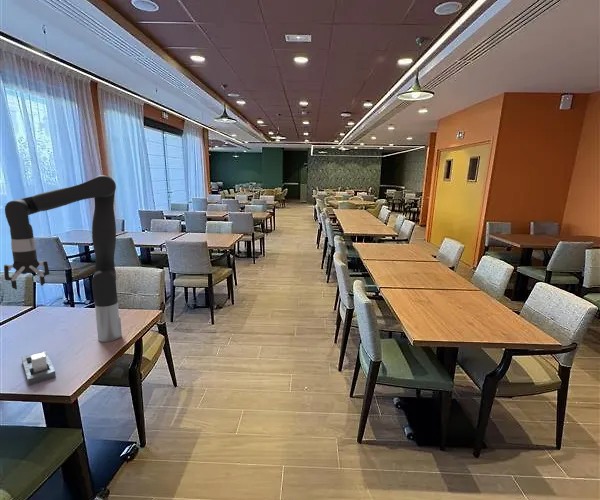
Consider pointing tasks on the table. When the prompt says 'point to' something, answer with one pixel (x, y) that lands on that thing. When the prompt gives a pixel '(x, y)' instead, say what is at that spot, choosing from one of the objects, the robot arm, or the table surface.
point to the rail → (40, 376)
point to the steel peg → (39, 363)
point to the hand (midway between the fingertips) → (29, 287)
